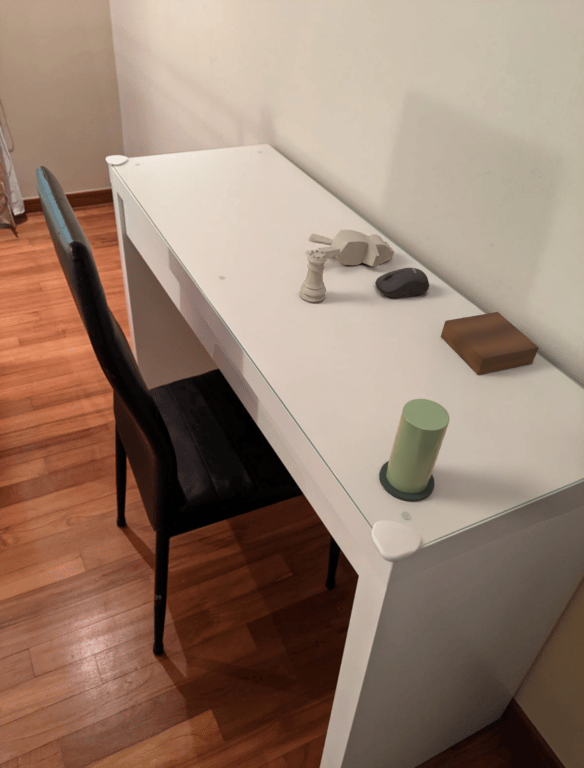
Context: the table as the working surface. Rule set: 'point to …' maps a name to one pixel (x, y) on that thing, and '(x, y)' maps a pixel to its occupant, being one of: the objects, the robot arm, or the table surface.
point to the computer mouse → (403, 283)
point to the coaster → (403, 495)
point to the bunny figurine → (355, 248)
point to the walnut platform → (488, 342)
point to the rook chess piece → (314, 278)
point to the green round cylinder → (417, 445)
